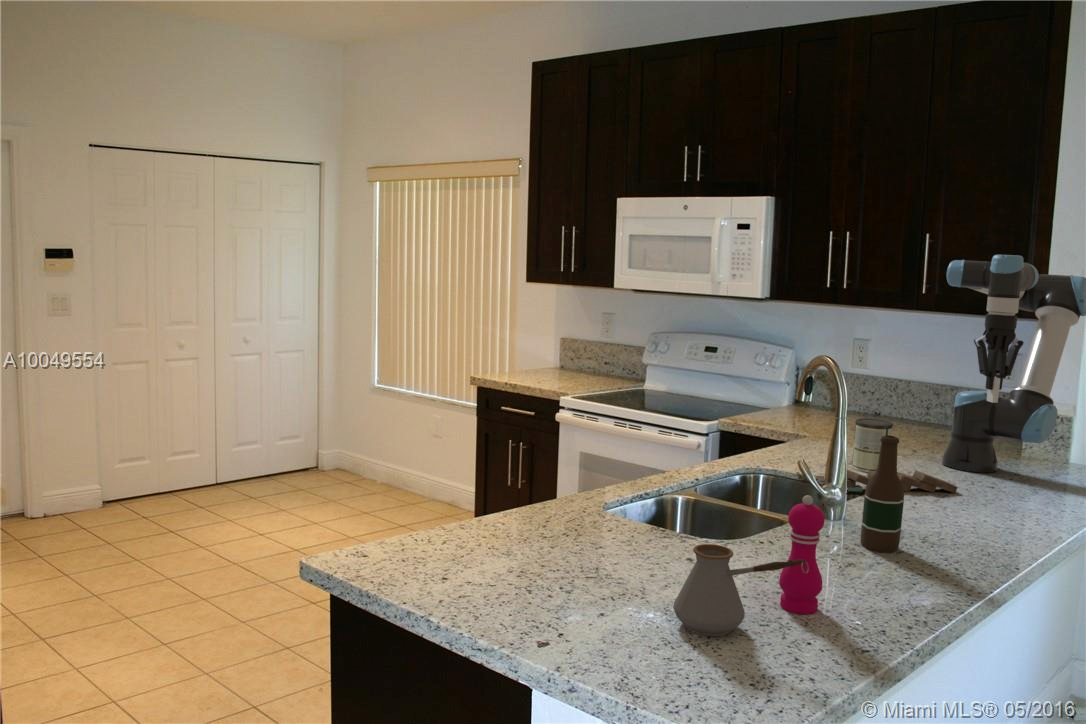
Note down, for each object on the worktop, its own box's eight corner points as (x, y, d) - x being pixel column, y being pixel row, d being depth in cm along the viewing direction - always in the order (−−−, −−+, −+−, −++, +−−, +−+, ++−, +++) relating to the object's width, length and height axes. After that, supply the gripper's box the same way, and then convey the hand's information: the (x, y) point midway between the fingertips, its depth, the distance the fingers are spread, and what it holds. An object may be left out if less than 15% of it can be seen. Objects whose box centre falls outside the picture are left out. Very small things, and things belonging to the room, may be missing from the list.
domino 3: (853, 482, 244) (818, 482, 243) (862, 487, 239) (826, 487, 238) (853, 488, 245) (818, 488, 243) (862, 493, 240) (826, 493, 238)
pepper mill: (771, 599, 162) (780, 489, 159) (810, 599, 162) (820, 490, 160) (785, 615, 154) (795, 501, 152) (826, 616, 155) (837, 502, 152)
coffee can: (847, 463, 271) (851, 417, 269) (883, 466, 270) (887, 419, 268) (855, 472, 261) (860, 423, 259) (892, 474, 260) (897, 426, 258)
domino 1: (846, 476, 244) (811, 475, 242) (855, 480, 239) (820, 480, 237) (846, 482, 244) (811, 482, 242) (855, 487, 239) (819, 487, 237)
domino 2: (874, 479, 245) (846, 469, 241) (886, 485, 240) (858, 474, 237) (872, 485, 245) (843, 475, 241) (884, 491, 240) (855, 481, 237)
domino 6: (948, 482, 247) (915, 470, 245) (957, 487, 242) (924, 474, 240) (945, 488, 247) (912, 476, 246) (954, 493, 242) (921, 481, 241)
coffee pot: (659, 627, 147) (665, 537, 145) (692, 606, 156) (698, 522, 155) (785, 668, 135) (794, 570, 133) (813, 643, 144) (821, 551, 142)
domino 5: (927, 481, 246) (893, 470, 245) (936, 486, 241) (902, 475, 240) (925, 487, 247) (891, 477, 246) (934, 492, 242) (900, 481, 241)
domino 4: (901, 480, 246) (869, 470, 244) (911, 485, 241) (878, 475, 239) (899, 487, 246) (867, 476, 244) (909, 492, 241) (876, 481, 239)
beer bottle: (898, 544, 196) (909, 435, 193) (899, 555, 189) (911, 442, 186) (859, 539, 198) (870, 431, 195) (859, 549, 191) (870, 437, 188)
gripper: (1015, 313, 245) (1006, 399, 248) (970, 311, 243) (961, 398, 246) (1033, 315, 237) (1023, 404, 240) (987, 314, 236) (977, 403, 239)
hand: (992, 401), depth 243 cm, fingers closed
